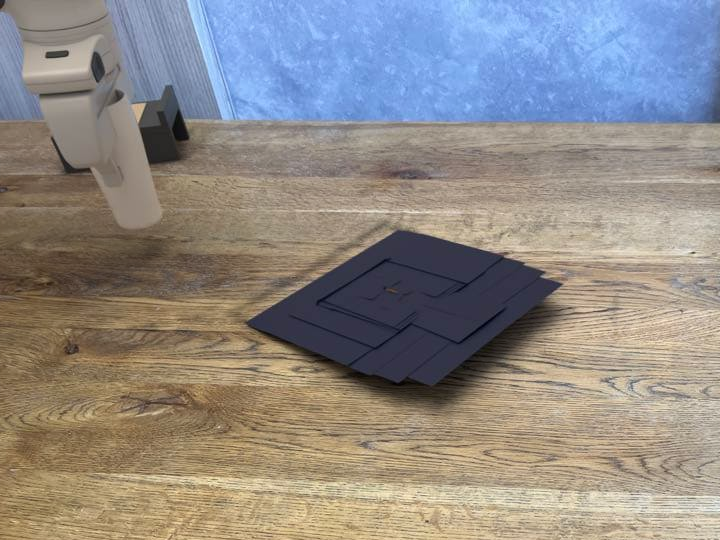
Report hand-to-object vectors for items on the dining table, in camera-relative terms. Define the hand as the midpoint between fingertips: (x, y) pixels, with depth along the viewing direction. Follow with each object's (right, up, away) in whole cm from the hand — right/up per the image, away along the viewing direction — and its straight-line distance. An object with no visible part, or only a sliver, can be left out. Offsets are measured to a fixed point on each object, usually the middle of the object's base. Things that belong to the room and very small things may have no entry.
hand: (121, 169), depth 95 cm
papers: (+33, -17, -4) cm, 38 cm away
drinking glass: (0, -5, +5) cm, 7 cm away
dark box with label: (-13, +10, +28) cm, 33 cm away
